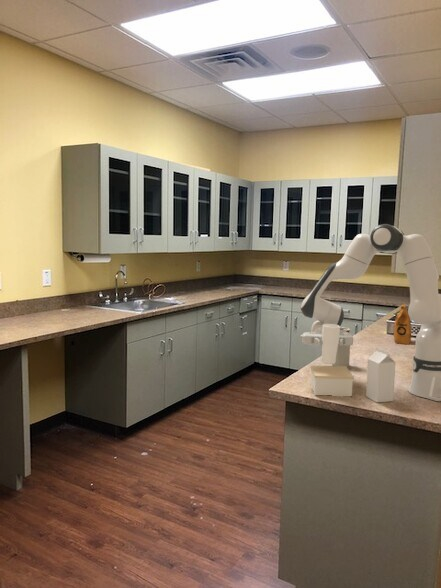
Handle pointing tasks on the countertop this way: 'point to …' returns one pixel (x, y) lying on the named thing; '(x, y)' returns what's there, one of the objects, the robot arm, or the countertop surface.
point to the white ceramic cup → (330, 343)
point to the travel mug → (343, 353)
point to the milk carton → (380, 377)
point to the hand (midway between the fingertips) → (330, 343)
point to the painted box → (331, 380)
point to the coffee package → (402, 327)
